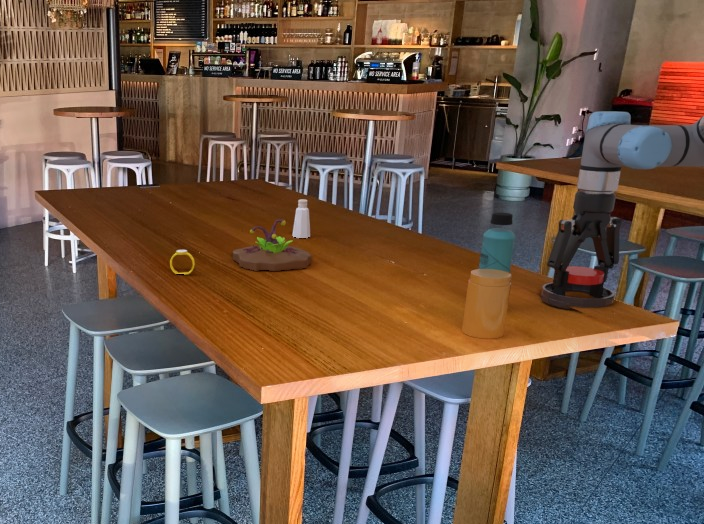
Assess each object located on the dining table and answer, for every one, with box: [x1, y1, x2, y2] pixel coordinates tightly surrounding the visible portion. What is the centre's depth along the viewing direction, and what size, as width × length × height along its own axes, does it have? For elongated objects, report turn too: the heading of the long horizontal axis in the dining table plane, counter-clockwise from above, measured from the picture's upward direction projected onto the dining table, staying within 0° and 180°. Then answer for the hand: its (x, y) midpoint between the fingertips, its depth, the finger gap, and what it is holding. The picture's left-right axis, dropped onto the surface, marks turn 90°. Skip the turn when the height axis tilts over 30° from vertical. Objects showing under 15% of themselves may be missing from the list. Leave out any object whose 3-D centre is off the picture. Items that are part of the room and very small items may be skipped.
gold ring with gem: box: [169, 249, 196, 276], centre depth 194 cm, size 6×3×6 cm, turn 83°
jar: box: [461, 268, 513, 340], centre depth 150 cm, size 8×8×12 cm
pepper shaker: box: [291, 198, 311, 239], centre depth 235 cm, size 5×5×11 cm
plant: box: [232, 218, 312, 272], centre depth 205 cm, size 20×20×11 cm
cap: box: [566, 265, 604, 285], centre depth 168 cm, size 9×9×2 cm
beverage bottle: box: [478, 211, 516, 274], centre depth 163 cm, size 6×7×20 cm
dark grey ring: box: [539, 281, 616, 312], centre depth 170 cm, size 14×14×3 cm
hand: (576, 298), depth 170 cm, fingers closed on cap, 9 cm apart
